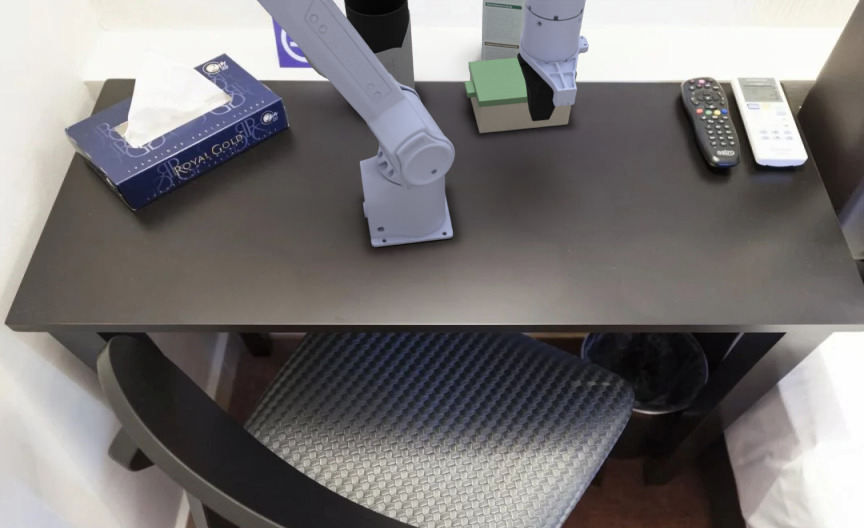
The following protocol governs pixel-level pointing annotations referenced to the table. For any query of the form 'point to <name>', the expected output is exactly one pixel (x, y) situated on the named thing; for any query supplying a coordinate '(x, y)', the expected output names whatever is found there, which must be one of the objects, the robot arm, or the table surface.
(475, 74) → the lunchbox
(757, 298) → the table surface
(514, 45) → the syrup box
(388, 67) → the glass holder
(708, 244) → the table surface
